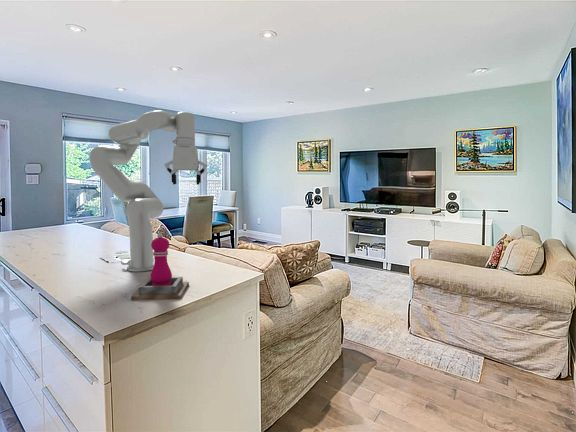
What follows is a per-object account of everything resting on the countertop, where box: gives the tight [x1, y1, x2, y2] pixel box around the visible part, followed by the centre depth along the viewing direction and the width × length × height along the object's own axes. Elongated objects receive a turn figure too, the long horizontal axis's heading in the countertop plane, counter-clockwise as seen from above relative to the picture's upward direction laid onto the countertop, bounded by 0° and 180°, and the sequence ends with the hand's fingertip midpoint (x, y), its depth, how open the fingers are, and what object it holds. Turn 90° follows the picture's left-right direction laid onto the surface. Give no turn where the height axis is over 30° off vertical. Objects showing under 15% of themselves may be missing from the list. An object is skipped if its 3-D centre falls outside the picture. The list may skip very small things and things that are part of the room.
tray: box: [114, 250, 155, 261], centre depth 182 cm, size 20×28×4 cm
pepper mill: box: [149, 232, 173, 286], centre depth 124 cm, size 7×7×20 cm
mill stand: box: [130, 276, 190, 301], centre depth 125 cm, size 16×16×4 cm
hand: (186, 184), depth 147 cm, fingers open, 9 cm apart
